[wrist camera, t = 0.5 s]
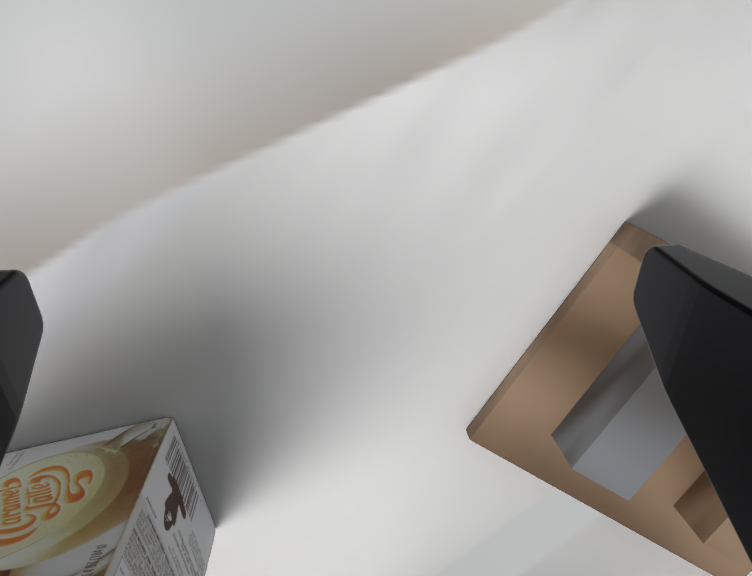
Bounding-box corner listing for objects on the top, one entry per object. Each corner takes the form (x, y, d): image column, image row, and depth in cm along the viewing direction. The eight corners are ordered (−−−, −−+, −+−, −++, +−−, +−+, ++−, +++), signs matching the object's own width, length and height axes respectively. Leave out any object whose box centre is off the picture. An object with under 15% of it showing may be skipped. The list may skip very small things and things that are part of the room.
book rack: (725, 575, 32) (768, 630, 29) (465, 429, 28) (483, 474, 25) (886, 405, 29) (953, 445, 26) (625, 221, 26) (666, 241, 23)
